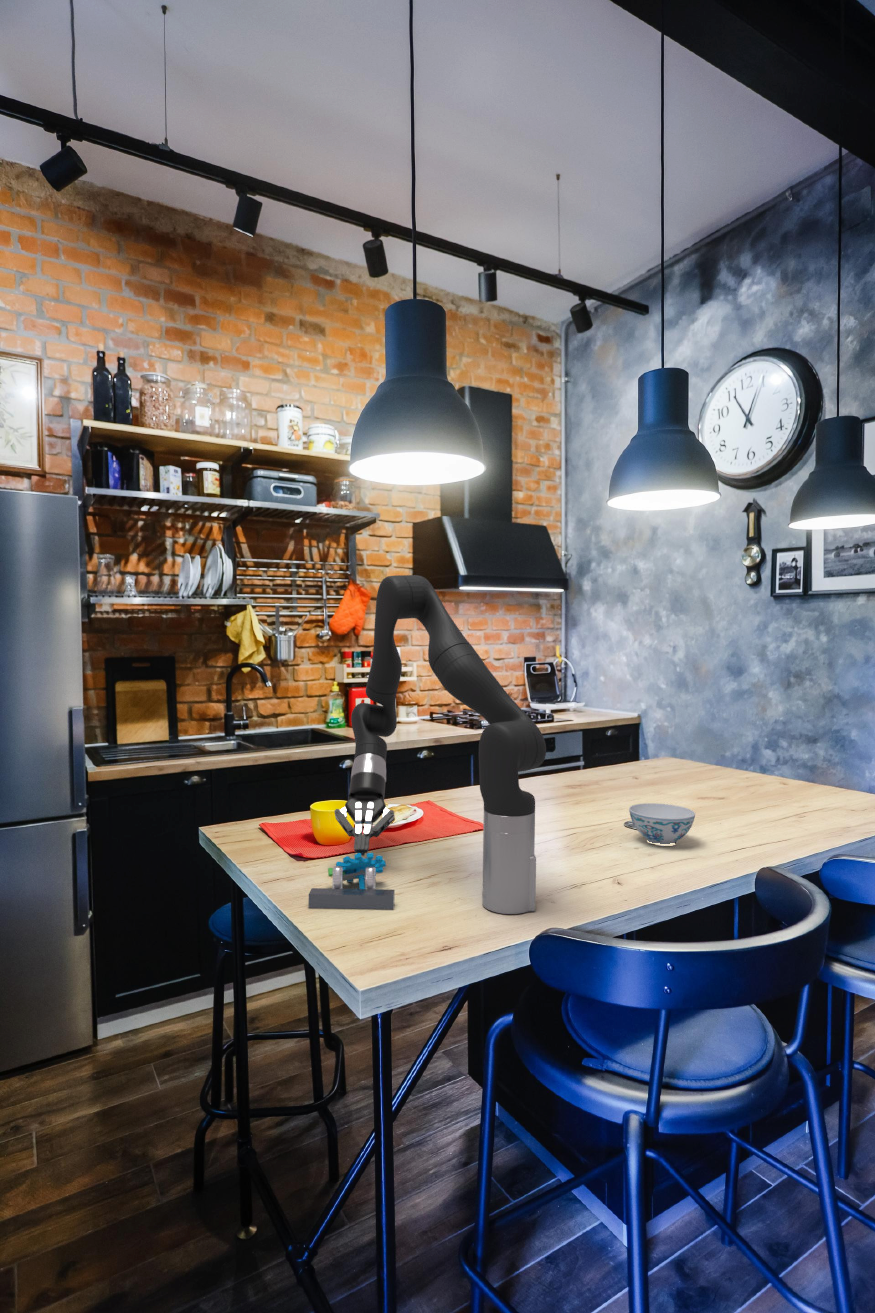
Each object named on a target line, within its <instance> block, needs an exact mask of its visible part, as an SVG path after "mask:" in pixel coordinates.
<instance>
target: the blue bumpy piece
mask: <svg viewBox="0 0 875 1313" xmlns="http://www.w3.org/2000/svg"><path fill="white" fill-rule="evenodd" d="M365 855H366V858H365V857H364V856H361V853H355V854H354V855H353V856H354V858H353V857H350V856H348V855H347V856H344V857H343V858H342V861H336V863H335V866H341V867H343V882H345V881H346V882H354V880H356V879H358V885H359V888H358V889H365V877H366V867H375V877H377V874H381V873H383V872H384V868H385V867H386V866H387V863H386V861H385V859H384V858H383V856H382V855H376V856H375V857H374V852H368V853H365ZM374 858H375V859H374ZM327 873H328V874H327V875H328V876H327V877H333V867H328V868H327Z"/></svg>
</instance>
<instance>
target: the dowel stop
mask: <svg viewBox="0 0 875 1313" xmlns="http://www.w3.org/2000/svg"><path fill="white" fill-rule="evenodd" d="M332 868H333V876H332V888H331V887H330V888H327V887H326V888H324V887H323V888H322V887H321V888H320V887H318V888H317V887H313V888H310V891H309V892H308V908H309V909H334V910H335V909H336V910H337V909H338V910H339V909H340V910H341V909H343V910H345V909H346V910H350V909H351V910H391V911H392V910H394V908H395V898H396V897H395V894H396V893H395V889H388V888H387V889H385V888H383V889H378V888H377V889H376V876H375V867H366V876H365V880H364V884H365V889H360V888H343V882H344V881H343V867H341V866H336V865H334V866H332Z"/></svg>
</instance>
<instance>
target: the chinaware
mask: <svg viewBox="0 0 875 1313" xmlns="http://www.w3.org/2000/svg"><path fill="white" fill-rule="evenodd" d="M628 810H629V816H630V819H631V822H632V824H633V826H634V827H635V829H636V831H637V832H638V833H639V834H641V835H642V836H643V838H644V839H645V838H646V839H647V840H648V841H649V842H652V843H660V844H670V843H675V842H676V843H677V841H680V840H681V839H683V838H684V837H686V835H687V834H688V833H689V832H690V830H691V829H692V827H693V824H694V821H695V817H696V812H695V811H694V810H692V809H690V808H687V807H685V806H680V805H677V804H676V805H675V804H669V803H666V804H665V803H657V802H656V803H653V802H652V803H651V802H649V803H648V802H646V803H637V804H633V805H631V806H629V808H628Z"/></svg>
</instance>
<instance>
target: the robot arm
mask: <svg viewBox="0 0 875 1313" xmlns="http://www.w3.org/2000/svg"><path fill="white" fill-rule="evenodd" d="M374 612H375V613H374V614H375V615H374V628H373V629H374V630H373V651H372V658H371V664H370V669H369V673H368V677H367V682H366V685H365V686H366V687H365V695H366V696H367V698H368V699H369V700H370V701H371V702H372V701H373V702H374V703H377V704H373V703H368V702H360V703H358V704H357V705H355V706H354V707H353V710H352V712H351V714H350V715H351V716H350V722H351V729H352V732H353V736H354V742H355V748H354V749H355V750H354V758H353V760H354V761H353V765H352V767H351V774H350V783H349V791H348V799H347V801H346V802H345V804H344V807H342V808H341V809H340V808H335V810H334V816H335V820H336V822H338V824H339V825H340V827H342V830H344V832H345V833H346V834H347V836H348V837H354V842H353V849H354V853H355V854H357V853H361V856H362V857H365V855H366V854H367V853H369V851H370V850H369V849H370V841H371V840H370V839H371V838H373V837H374V838H378V837H380V835H382V833H383V832H385V830H386V829H388V827H390V825H391V824H392V823H393V822H394V821H395V816H396V815H395V810H392V809H389V808H387V806H386V802H385V793H386V782H387V756H388V755H387V754H388V746H387V745H388V744H387V742H386V740H385V739H384V738H388V737H390V736H392V735H393V734H394V733H395V731H396V729H397V727H398V726H397V724H398V722H397V721H398V720H397V719H398V718H397V716H398V715H397V706H396V704H397V703H396V701H397V693H398V689H399V685H400V681H401V676H402V672H403V671H402V670H403V666H402V659H401V656H400V653H399V651H398V648H397V646H396V641H395V628H396V626H397V623H398V620H407V619H416V620H418V621H419V622H420V623H421V625H422V626H423V628H424V629H425V631H426V632H427V634H428V638H429V639H428V640H429V641H428V648H427V649H428V650H427V659H428V664H429V666H430V668H431V671H432V672H433V673H434V676H436V678H437V680H438V681H439V682H440V684H441V685H442V687H443V688H444V689H445V690H446V691H447V693H448V694H449V695H451V697H453V698H455V699H456V700H457V701H459V702H460V703H462V704H463V705H465V706H466V707H468V708H469V709H470V710H472V711H474V712H476V713H477V714H479V716H481V717H482V718H483V719H484V720H485V721H487V722H486V723H488V725H487V726H486V727H485V728H484V729H483V730H482V733H481V734H480V739H479V742H478V743H479V744H478V774H479V790H480V791H479V792H480V794H481V798H482V801H483V827H482V828H483V832H482V833H483V838H482V840H483V841H482V842H483V844H482V891H481V894H482V897H481V898H482V901H481V903H482V907H484V908H485V909H486V910H489V911H491V912H494V913H498V914H504V915H505V914H506V915H517V914H518V915H519V914H524V913H527V912H535V911H536V894H537V892H536V890H537V889H536V887H537V882H536V881H537V858H536V854H535V846H536V845H535V844H536V843H535V842H536V841H535V838H536V835H535V834H536V829H535V828H536V798H535V796H534V795H533V794H532V793H531V792H528V791H525V790H522V789H521V786H520V781H519V780H520V779H519V773H521V772H526V771H531V770H534V769H536V768H539V767H540V766H541V765H542V764H543V763H544V761H545V759H546V756H547V745H546V741H545V738H544V735H543V734H542V732H541V730H540V728H539V726H538V725H537V724H536V723H535V722H534V720H532V718H530V716H529V715H528V714H527V713H526V712H525V711H524V710H523V709H522V708H521V707H520V706H519V704H517V703H516V702H515V700H514V699H513V698H512V697H511V696H510V695H509V694H508V693H507V691H506V690H505V689H504V688H503V686H502V684H501V683H500V682H499V681H498V679H497V678H496V677H495V676H494V674H493V673H492V672H491V671H490V669H489V668H488V667H487V665H486V664H485V662H484V660H483V659H482V658H481V657H480V655H479V653H478V652H477V651H476V650H475V648H474V647H473V646H472V644H471V643H470V642H469V641H468V639H466V637H465V636H464V634H463V633H462V631H461V630H460V629H459V627H458V625H457V624H456V622H454V619H453V618H452V617H451V616H450V614H449V613H448V610H447V608H446V607H445V605H444V603H443V602H442V600H441V599H440V596H439V595H438V594H437V591H436V589H435V588H434V587H433V585H432V583H430V581H429V580H428V579H427V578H426V577H424V576H422V575H417V574H410V575H409V574H408V575H407V574H406V575H405V574H402V575H399V574H398V575H397V574H396V575H389V576H386V577H384V578H383V579H382V580H381V581H380V582H379V586H378V590H377V593H376V600H375V611H374ZM378 704H379V705H378ZM347 814H348V815H349V817H350V818H351V820H352V821H353V822H354V823H355V824H354V825H355V827H353V825H352V824H351V822H350V821H349V820H348V819H347V818H348V815H347ZM381 817H382V818H381ZM379 818H380V820H379ZM377 820H379V821H378V822H377ZM376 822H377V823H376ZM374 823H376V824H374ZM363 824H364V826H363ZM363 827H364V828H363Z"/></svg>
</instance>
